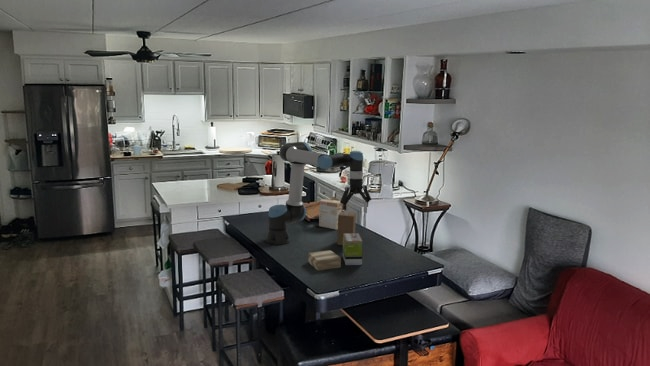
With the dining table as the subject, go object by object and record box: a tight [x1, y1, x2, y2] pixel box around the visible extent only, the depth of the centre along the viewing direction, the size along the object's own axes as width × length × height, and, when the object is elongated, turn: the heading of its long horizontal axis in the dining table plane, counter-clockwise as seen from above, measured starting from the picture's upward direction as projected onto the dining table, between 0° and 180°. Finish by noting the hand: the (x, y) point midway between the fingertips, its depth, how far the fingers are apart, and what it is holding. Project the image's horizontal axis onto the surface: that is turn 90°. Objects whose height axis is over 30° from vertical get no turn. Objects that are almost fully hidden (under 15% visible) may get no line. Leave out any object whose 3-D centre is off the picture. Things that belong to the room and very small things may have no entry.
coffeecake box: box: [318, 198, 343, 231], centre depth 362 cm, size 15×7×20 cm, turn 58°
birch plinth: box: [307, 249, 342, 271], centre depth 287 cm, size 14×14×6 cm
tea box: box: [342, 232, 364, 266], centre depth 294 cm, size 15×10×15 cm, turn 5°
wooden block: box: [336, 211, 357, 246], centre depth 325 cm, size 10×10×20 cm
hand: (355, 213), depth 294 cm, fingers open, 13 cm apart
